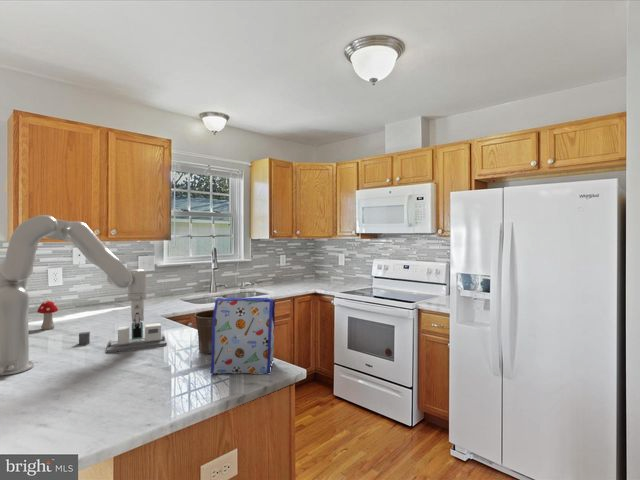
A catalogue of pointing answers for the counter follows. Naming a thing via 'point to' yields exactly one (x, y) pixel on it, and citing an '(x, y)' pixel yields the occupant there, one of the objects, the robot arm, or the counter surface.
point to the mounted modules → (150, 333)
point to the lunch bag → (243, 335)
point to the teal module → (141, 331)
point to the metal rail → (133, 342)
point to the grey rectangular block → (84, 338)
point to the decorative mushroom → (47, 314)
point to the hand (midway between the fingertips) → (137, 335)
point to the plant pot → (205, 330)
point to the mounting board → (135, 346)
